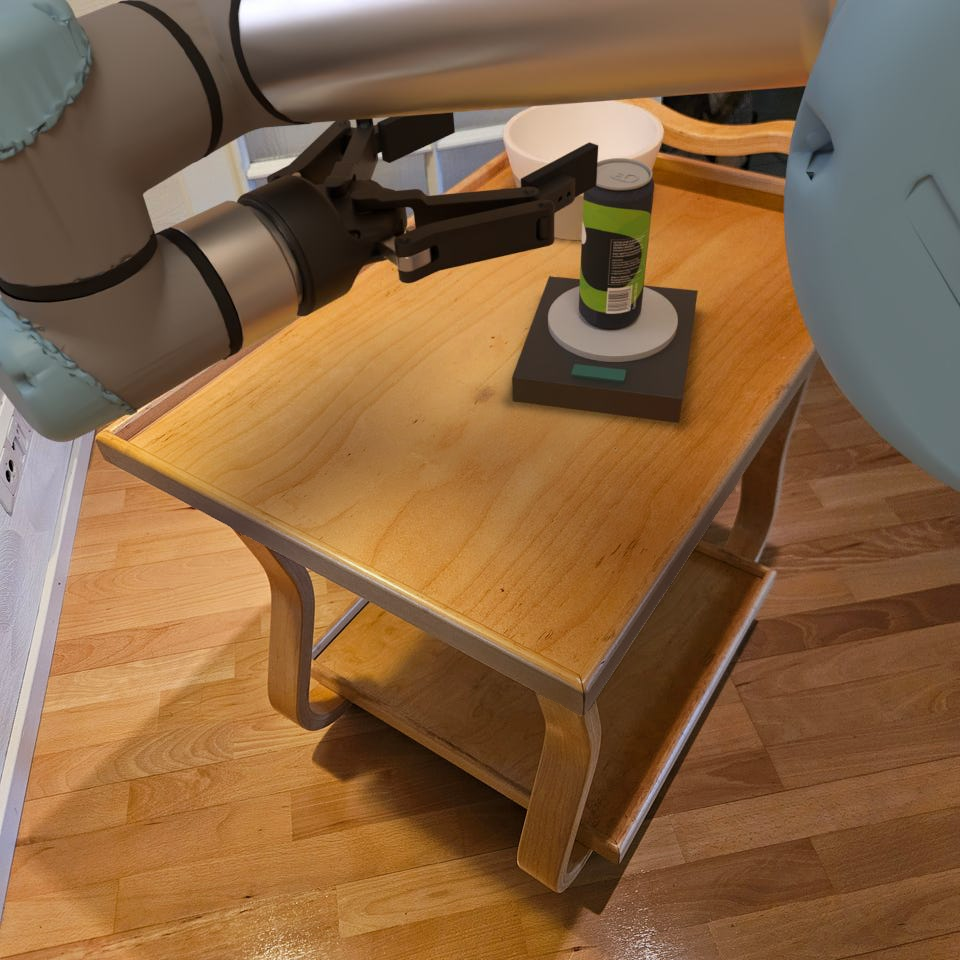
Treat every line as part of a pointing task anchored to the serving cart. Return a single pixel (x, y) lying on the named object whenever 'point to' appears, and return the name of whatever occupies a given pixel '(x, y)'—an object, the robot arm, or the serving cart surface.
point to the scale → (607, 355)
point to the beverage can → (615, 243)
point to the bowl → (579, 143)
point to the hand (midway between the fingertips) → (517, 136)
